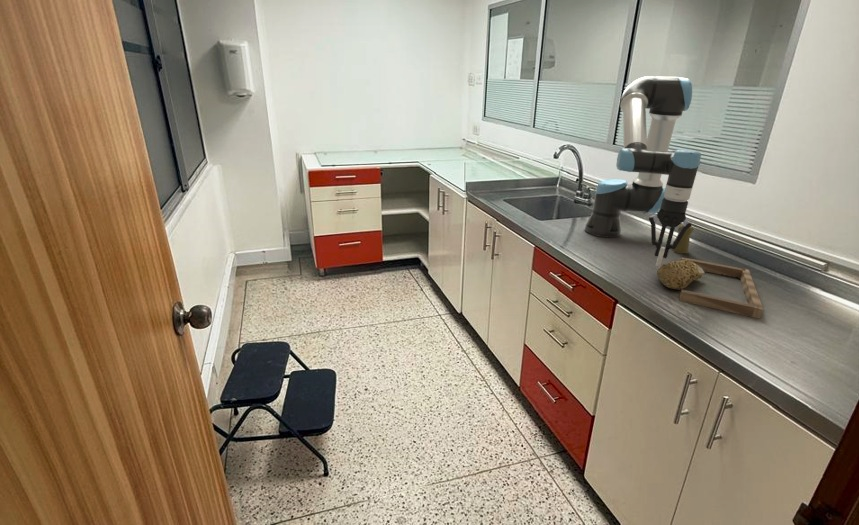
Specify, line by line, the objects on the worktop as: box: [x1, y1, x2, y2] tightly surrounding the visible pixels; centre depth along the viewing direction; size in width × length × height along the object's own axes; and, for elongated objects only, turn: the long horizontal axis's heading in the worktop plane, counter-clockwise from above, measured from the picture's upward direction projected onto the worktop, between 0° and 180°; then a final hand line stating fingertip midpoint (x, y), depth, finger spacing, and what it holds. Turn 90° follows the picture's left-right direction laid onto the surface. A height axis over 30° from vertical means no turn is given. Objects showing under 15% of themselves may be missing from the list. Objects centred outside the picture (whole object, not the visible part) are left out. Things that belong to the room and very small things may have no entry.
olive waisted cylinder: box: [670, 223, 694, 254], centre depth 176 cm, size 6×6×11 cm
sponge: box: [656, 259, 706, 291], centre depth 147 cm, size 13×8×20 cm
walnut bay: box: [678, 257, 764, 319], centre depth 145 cm, size 34×21×3 cm, turn 152°
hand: (658, 265), depth 151 cm, fingers closed
